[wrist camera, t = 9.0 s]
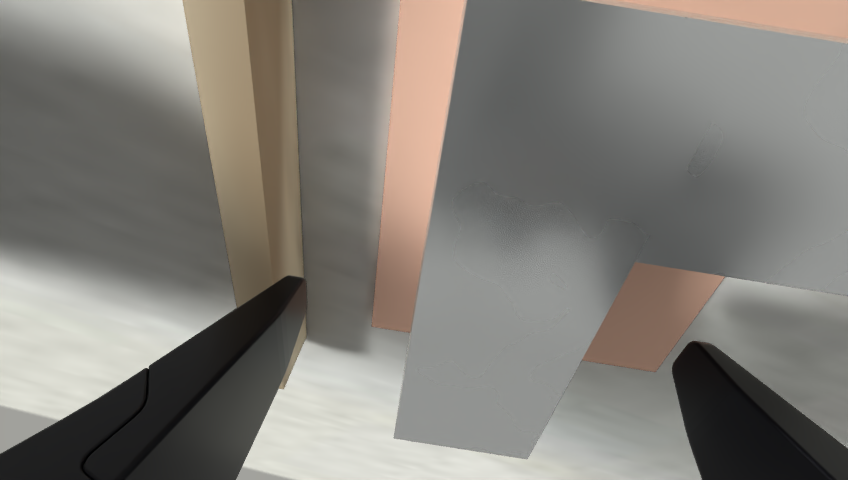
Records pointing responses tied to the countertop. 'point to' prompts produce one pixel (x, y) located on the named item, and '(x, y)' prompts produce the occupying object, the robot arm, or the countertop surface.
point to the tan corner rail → (252, 137)
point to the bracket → (609, 192)
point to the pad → (418, 155)
